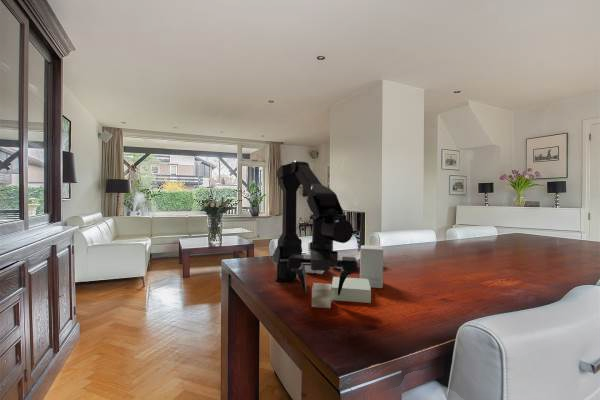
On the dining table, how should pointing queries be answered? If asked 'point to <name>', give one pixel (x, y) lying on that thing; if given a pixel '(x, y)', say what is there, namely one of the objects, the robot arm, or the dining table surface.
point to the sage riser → (351, 290)
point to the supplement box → (372, 265)
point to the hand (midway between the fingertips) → (321, 294)
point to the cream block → (321, 295)
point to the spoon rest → (356, 255)
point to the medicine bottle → (308, 256)
